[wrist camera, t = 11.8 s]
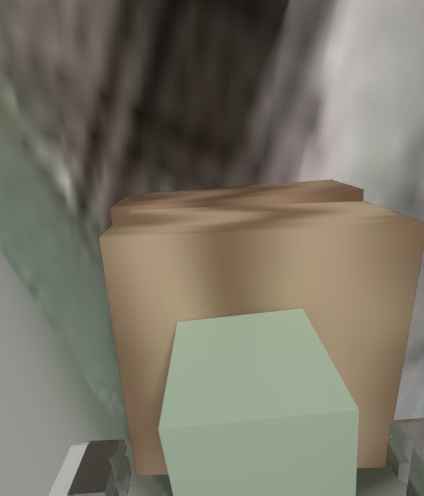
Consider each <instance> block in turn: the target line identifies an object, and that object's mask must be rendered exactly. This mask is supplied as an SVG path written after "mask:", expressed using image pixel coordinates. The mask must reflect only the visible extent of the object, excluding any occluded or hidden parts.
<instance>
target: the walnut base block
mask: <svg viewBox="0 0 424 496" xmlns="http://www.w3.org/2000/svg"><path fill="white" fill-rule="evenodd" d="M363 192H364V189H361V188H357V187H354V186H351V185H347V184H344V183H340V182H337V181H334V180H321V181H307V182H293V183H280V184H266V185H253V186H239V187H226V188H212V189H199V190H185V191H171V192H158V193H144V194H131V195H129V196H128V197H126V198H125V199H123V200H121V201H120V202H118V203H117V204H115V205H114V206H112V207H110V213H111V219H112V225H114V224H115V223H117V222H118V221H119V220H120V219H121V218H122V217H124V216H125V215H126V214H127V213H128V212H130V211H131V210H150V209H175V208H200V207H225V206H250V205H275V204H300V203H325V202H350V201H363Z"/></svg>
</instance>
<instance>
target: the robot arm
mask: <svg viewBox="0 0 424 496" xmlns="http://www.w3.org/2000/svg"><path fill="white" fill-rule="evenodd" d="M389 431H390V433H391V435H392V436H393V437H392V438H391V439H390V440H389V441H388V443H387V453H388V458H389V462H390V464H391V466H392V469H393V471H394V473H395V475H396V476H397V478H398V479H399V480H401V481H402V482H403V483H404V484H406V485H407V493H406V495H407V496H424V418H418V419H406V420H394V421H391V423H390V426H389ZM125 452H126V444H125V441H124V440H102V441H82V442H74V444H73V445H72V446H71V447H70V449H69V451H68V453H67V456H66V457H65V460H64V462H63V464H62V466H61V469H60V470H59V472H58V475H57V477H56V479H55V481H54V483H53V485H52V487H51V490H50V492H49V494H48V496H127V495H128V490H129V486H130V476H131V470H130V461H129V459H128V458H127V457H126V456H125Z"/></svg>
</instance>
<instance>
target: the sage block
mask: <svg viewBox="0 0 424 496" xmlns="http://www.w3.org/2000/svg"><path fill="white" fill-rule="evenodd" d="M358 420H359V409H358V407H357V406H356V404H355V402H354V400H353V398H352V397H351V395H350V393H349V391H348V389H347V388H346V386H345V384H344V382H343V380H342V378H341V377H340V375H339V373H338V371H337V369H336V368H335V366H334V364H333V362H332V360H331V359H330V357H329V355H328V353H327V351H326V350H325V348H324V346H323V344H322V342H321V341H320V339H319V337H318V335H317V333H316V332H315V330H314V328H313V326H312V324H311V323H310V321H309V319H308V317H307V315H306V314H305V312H304V310H303V308H301V309H292V310H282V311H273V312H264V313H255V314H246V315H236V316H227V317H218V318H209V319H200V320H190V321H181V322H177V326H176V332H175V337H174V343H173V349H172V355H171V360H170V366H169V372H168V377H167V383H166V389H165V394H164V400H163V406H162V412H161V417H160V423H159V429H158V430H159V435H160V439H161V444H162V448H163V452H164V457H165V461H166V466H167V470H168V474H169V479H170V483H171V488H172V492H173V496H356V474H357V447H358Z"/></svg>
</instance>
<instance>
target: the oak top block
mask: <svg viewBox="0 0 424 496" xmlns="http://www.w3.org/2000/svg"><path fill="white" fill-rule="evenodd" d="M99 241H100V247H101V254H102V260H103V267H104V273H105V279H106V286H107V292H108V299H109V305H110V312H111V318H112V324H113V331H114V337H115V344H116V350H117V357H118V363H119V369H120V376H121V382H122V389H123V395H124V402H125V408H126V414H127V421H128V427H129V434H130V440H131V447H132V452H133V459H134V465H135V472H136V476H140V475H169V474H168V470H167V466H166V461H165V457H164V452H163V448H162V444H161V439H160V435H159V430H158V429H159V423H160V417H161V412H162V406H163V400H164V394H165V389H166V383H167V377H168V372H169V366H170V360H171V355H172V349H173V343H174V337H175V332H176V326H177V322H181V321H190V320H200V319H209V318H218V317H227V316H236V315H246V314H255V313H264V312H273V311H282V310H292V309H301V308H303V310H304V312H305V314H306V315H307V317H308V319H309V321H310V323H311V324H312V326H313V328H314V330H315V332H316V333H317V335H318V337H319V339H320V341H321V342H322V344H323V346H324V348H325V350H326V351H327V353H328V355H329V357H330V359H331V360H332V362H333V364H334V366H335V368H336V369H337V371H338V373H339V375H340V377H341V378H342V380H343V382H344V384H345V386H346V388H347V389H348V391H349V393H350V395H351V397H352V398H353V400H354V402H355V404H356V406H357V407H358V409H359V420H358V447H357V468H372V467H373V468H374V467H385V464H386V458H387V443H388V441H389V440H390V436H391V433H390V431H389V426H390V423H391V421H393V419H394V413H395V407H396V402H397V396H398V390H399V385H400V379H401V373H402V367H403V362H404V356H405V350H406V345H407V339H408V333H409V328H410V322H411V316H412V310H413V305H414V299H415V293H416V288H417V282H418V276H419V271H420V265H421V259H422V253H423V248H424V223H423V222H420V221H417V220H415V219H412V218H409V217H406V216H404V215H401V214H398V213H396V212H393V211H390V210H388V209H385V208H382V207H380V206H377V205H374V204H371V203H369V202H366V201H350V202H325V203H300V204H275V205H250V206H225V207H200V208H175V209H150V210H131V211H130V212H128V213H127V214H126V215H125V216H124V217H122V218H121V219H120V220H119V221H118V222H117V223H115V224H114V225H113V226H112V227H111V228H109V229H108V230H107V231H106V232H105V233H103V234H102V235H101V236H100V237H99Z"/></svg>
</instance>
